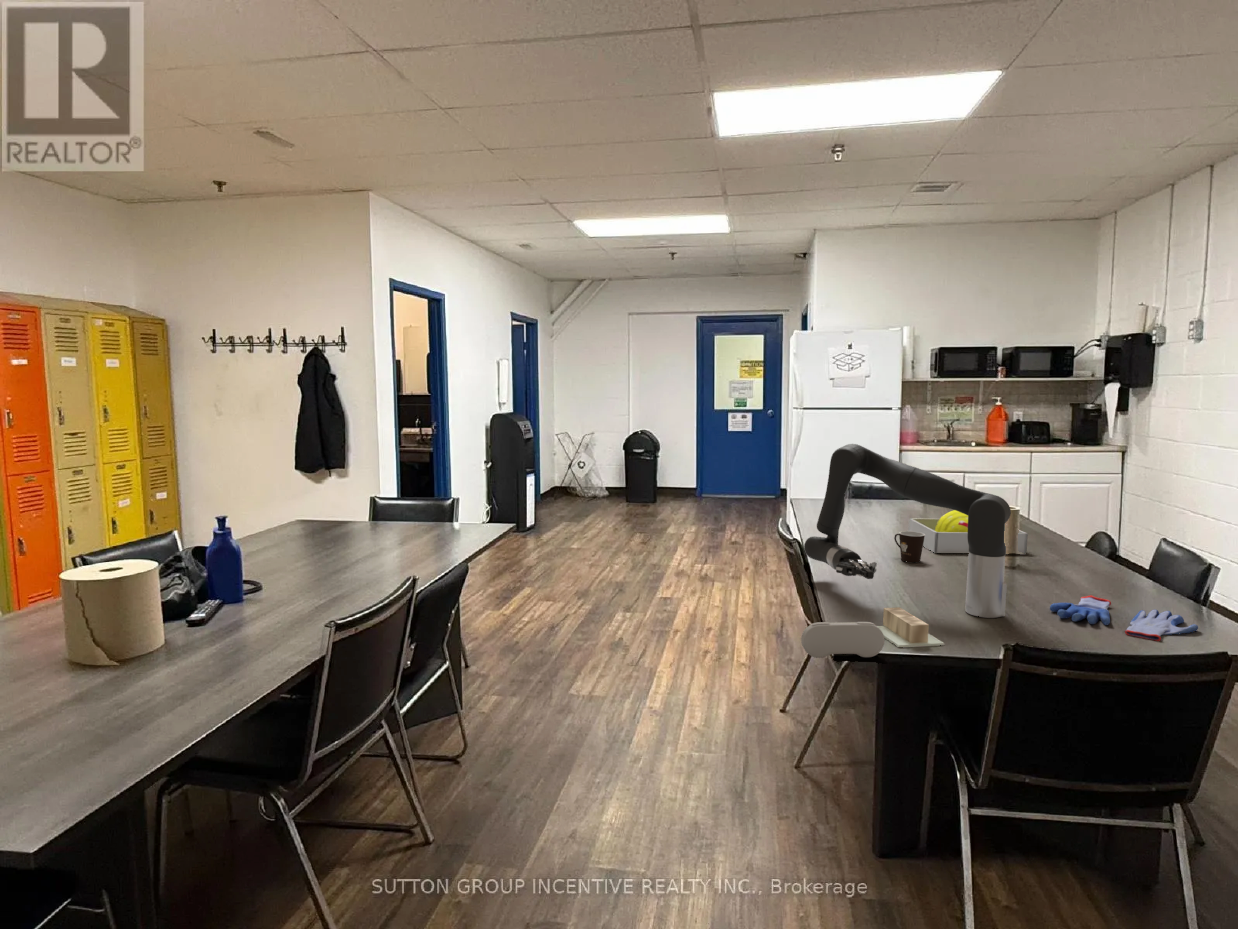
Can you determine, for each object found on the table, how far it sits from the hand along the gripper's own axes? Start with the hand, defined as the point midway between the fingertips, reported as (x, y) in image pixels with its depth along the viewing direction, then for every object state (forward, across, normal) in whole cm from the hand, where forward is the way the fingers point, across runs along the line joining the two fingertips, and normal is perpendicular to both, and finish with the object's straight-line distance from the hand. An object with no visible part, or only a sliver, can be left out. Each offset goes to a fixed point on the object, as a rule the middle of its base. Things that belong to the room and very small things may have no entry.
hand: (870, 575), depth 207 cm
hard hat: (-71, +73, +11) cm, 103 cm away
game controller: (+30, -22, +11) cm, 39 cm away
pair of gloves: (+16, +65, +11) cm, 68 cm away
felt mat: (+20, 0, +11) cm, 23 cm away
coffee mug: (-54, +43, +11) cm, 70 cm away
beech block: (+12, 0, +8) cm, 14 cm away
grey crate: (-73, +77, +11) cm, 106 cm away
